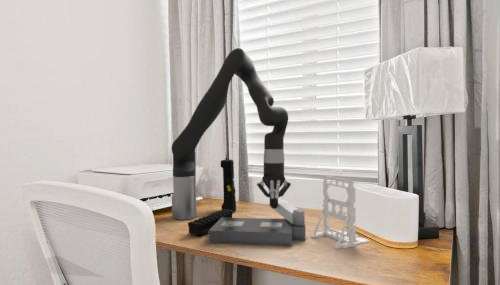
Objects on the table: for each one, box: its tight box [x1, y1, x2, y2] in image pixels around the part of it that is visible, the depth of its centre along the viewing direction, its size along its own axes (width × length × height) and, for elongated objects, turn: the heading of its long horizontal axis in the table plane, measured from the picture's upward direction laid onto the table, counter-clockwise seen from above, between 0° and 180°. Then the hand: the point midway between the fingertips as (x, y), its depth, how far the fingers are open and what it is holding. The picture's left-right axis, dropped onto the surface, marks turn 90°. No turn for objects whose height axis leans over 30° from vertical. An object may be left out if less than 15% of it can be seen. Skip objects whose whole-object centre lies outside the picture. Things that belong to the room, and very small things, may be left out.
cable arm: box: [273, 197, 306, 226], centre depth 120 cm, size 28×4×4 cm, turn 13°
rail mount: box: [187, 209, 234, 238], centre depth 120 cm, size 21×6×5 cm, turn 150°
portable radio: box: [220, 153, 237, 212], centre depth 145 cm, size 8×6×25 cm
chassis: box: [208, 217, 306, 247], centre depth 110 cm, size 30×16×4 cm, turn 81°
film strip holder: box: [310, 174, 370, 250], centre depth 106 cm, size 14×14×20 cm
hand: (273, 208), depth 123 cm, fingers closed
